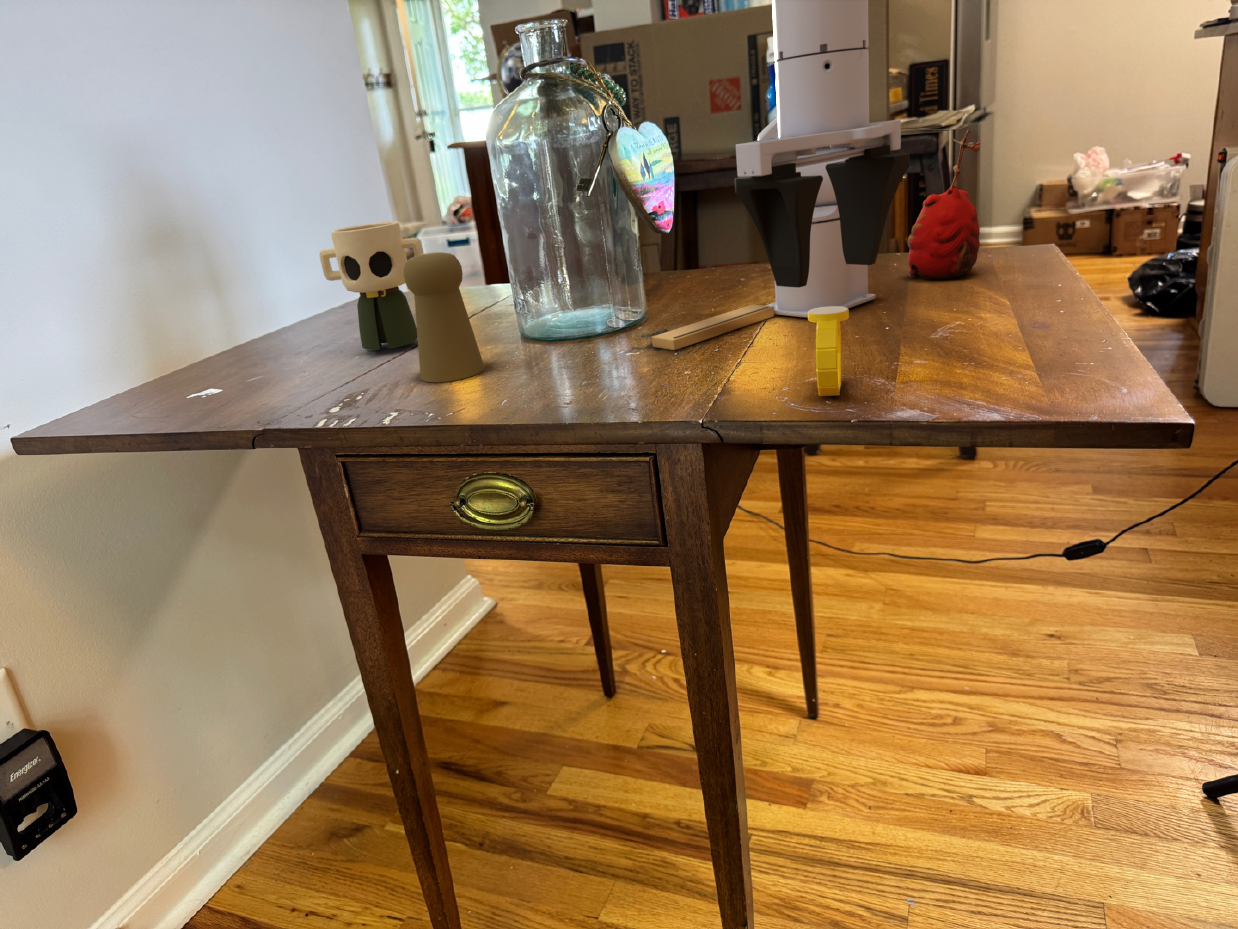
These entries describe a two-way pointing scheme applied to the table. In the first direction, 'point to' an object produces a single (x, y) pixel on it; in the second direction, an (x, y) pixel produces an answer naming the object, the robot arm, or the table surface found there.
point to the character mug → (375, 280)
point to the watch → (828, 347)
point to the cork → (442, 319)
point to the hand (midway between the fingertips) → (827, 274)
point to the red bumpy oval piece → (946, 231)
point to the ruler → (712, 327)
